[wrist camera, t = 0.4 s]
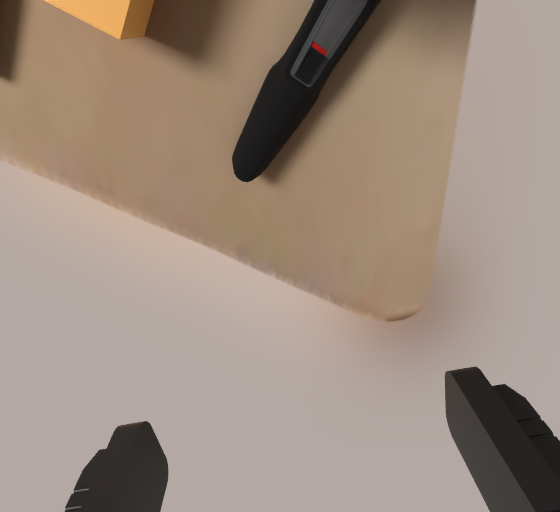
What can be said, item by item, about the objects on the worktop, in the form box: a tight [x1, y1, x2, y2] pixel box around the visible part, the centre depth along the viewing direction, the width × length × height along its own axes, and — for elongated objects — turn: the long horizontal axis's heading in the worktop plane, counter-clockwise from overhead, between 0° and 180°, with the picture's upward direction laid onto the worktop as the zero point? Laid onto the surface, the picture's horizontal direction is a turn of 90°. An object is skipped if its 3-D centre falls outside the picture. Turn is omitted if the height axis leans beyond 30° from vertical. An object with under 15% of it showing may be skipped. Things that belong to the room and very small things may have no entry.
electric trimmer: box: [232, 0, 381, 182], centre depth 24 cm, size 4×16×3 cm, turn 147°
